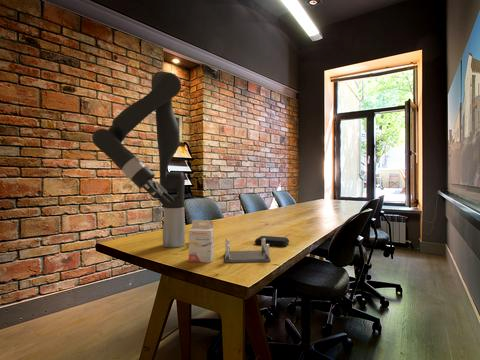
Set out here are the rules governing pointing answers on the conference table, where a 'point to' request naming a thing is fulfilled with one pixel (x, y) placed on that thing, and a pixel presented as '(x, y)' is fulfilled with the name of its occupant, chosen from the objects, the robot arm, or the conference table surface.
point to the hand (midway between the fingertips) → (170, 203)
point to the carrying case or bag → (273, 241)
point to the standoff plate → (247, 254)
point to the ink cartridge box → (201, 241)
